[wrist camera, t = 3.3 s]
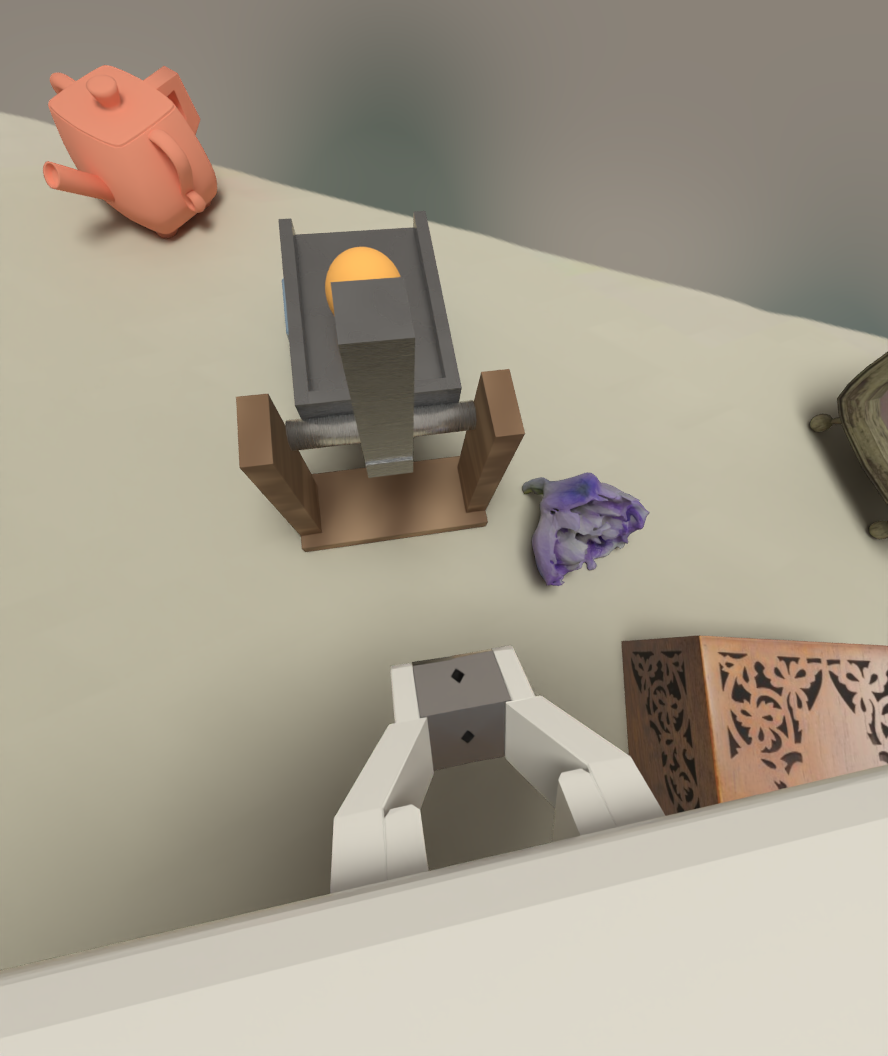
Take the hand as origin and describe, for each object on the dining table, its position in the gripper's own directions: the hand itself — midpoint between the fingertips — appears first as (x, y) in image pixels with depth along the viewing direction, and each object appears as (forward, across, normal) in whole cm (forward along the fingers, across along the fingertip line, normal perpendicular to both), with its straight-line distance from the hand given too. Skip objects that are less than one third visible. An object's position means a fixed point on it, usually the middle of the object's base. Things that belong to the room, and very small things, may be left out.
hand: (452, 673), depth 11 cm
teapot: (+50, -19, +17) cm, 56 cm away
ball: (+18, -1, +8) cm, 20 cm away
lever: (+20, -1, +5) cm, 21 cm away
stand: (+26, 0, -7) cm, 27 cm away
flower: (+23, +12, -10) cm, 28 cm away
